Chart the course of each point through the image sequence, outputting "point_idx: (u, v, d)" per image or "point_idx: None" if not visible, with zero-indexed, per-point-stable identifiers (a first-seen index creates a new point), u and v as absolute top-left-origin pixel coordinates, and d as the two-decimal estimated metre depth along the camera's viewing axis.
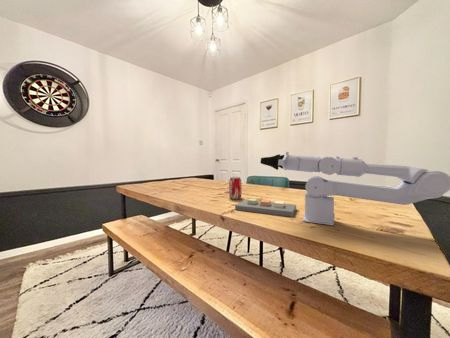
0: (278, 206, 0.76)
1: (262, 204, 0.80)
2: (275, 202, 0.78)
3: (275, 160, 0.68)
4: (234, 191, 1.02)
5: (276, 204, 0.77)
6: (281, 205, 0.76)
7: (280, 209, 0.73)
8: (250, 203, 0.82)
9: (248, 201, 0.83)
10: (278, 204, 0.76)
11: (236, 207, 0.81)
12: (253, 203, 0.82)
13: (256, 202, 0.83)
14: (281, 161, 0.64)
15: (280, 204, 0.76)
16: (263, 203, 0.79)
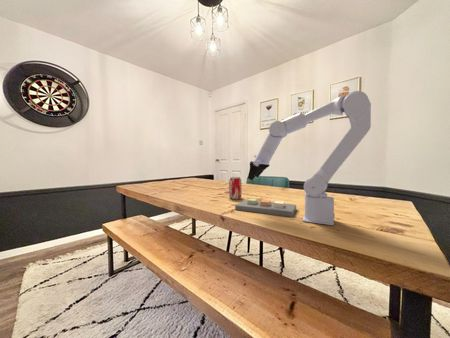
0: (278, 206, 0.76)
1: (262, 204, 0.80)
2: (275, 202, 0.78)
3: (254, 167, 0.75)
4: (234, 191, 1.02)
5: (276, 204, 0.77)
6: (281, 205, 0.76)
7: (280, 209, 0.73)
8: (250, 203, 0.82)
9: (248, 201, 0.83)
10: (278, 204, 0.76)
11: (236, 207, 0.81)
12: (253, 203, 0.82)
13: (256, 202, 0.83)
14: (255, 162, 0.72)
15: (280, 204, 0.76)
16: (263, 203, 0.79)
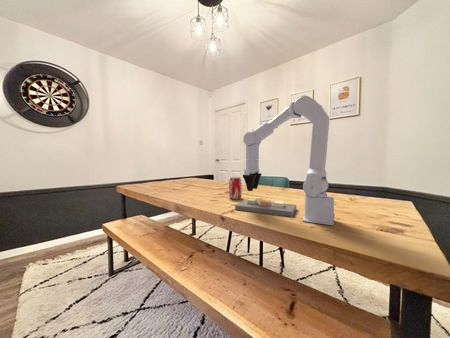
0: (278, 206, 0.76)
1: (262, 204, 0.80)
2: (275, 202, 0.78)
3: (248, 178, 0.80)
4: (234, 191, 1.02)
5: (276, 204, 0.77)
6: (281, 205, 0.76)
7: (280, 209, 0.73)
8: (250, 203, 0.82)
9: (248, 201, 0.83)
10: (278, 204, 0.76)
11: (236, 207, 0.81)
12: (253, 203, 0.82)
13: (256, 202, 0.83)
14: (245, 172, 0.77)
15: (280, 204, 0.76)
16: (263, 203, 0.79)
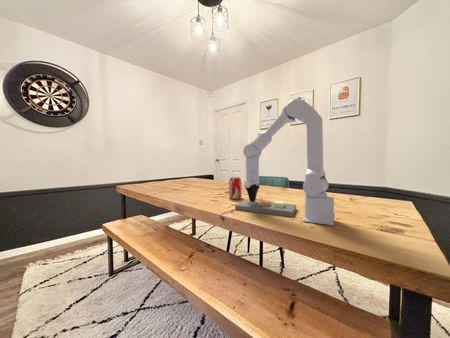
0: (278, 206, 0.76)
1: (262, 204, 0.80)
2: (275, 202, 0.78)
3: (250, 189, 0.83)
4: (234, 191, 1.02)
5: (276, 204, 0.77)
6: (281, 205, 0.76)
7: (280, 209, 0.73)
8: None
9: (248, 203, 0.83)
10: (278, 204, 0.76)
11: (236, 207, 0.81)
12: None
13: (256, 203, 0.83)
14: (245, 185, 0.77)
15: (280, 204, 0.76)
16: (263, 203, 0.79)
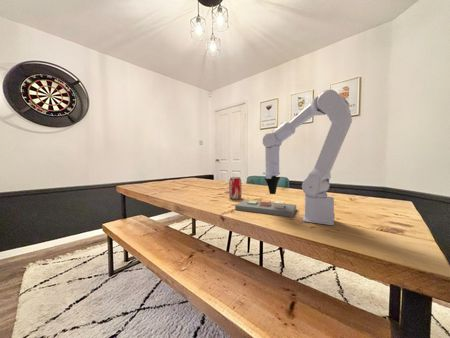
0: (278, 206, 0.76)
1: (262, 204, 0.80)
2: (275, 202, 0.78)
3: (270, 180, 0.78)
4: (234, 191, 1.02)
5: (276, 204, 0.77)
6: (281, 205, 0.76)
7: (280, 209, 0.73)
8: None
9: (248, 203, 0.83)
10: (278, 204, 0.76)
11: (236, 207, 0.81)
12: None
13: (256, 204, 0.83)
14: (267, 175, 0.72)
15: (280, 204, 0.76)
16: (263, 203, 0.79)
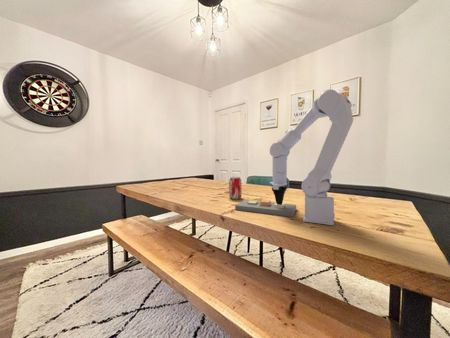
0: None
1: (262, 204, 0.80)
2: (275, 204, 0.78)
3: (277, 191, 0.77)
4: (234, 191, 1.02)
5: (276, 206, 0.77)
6: (281, 207, 0.76)
7: (280, 209, 0.73)
8: None
9: (248, 203, 0.83)
10: (278, 206, 0.76)
11: (236, 207, 0.81)
12: None
13: (256, 204, 0.83)
14: (274, 186, 0.71)
15: (280, 206, 0.76)
16: (263, 203, 0.79)
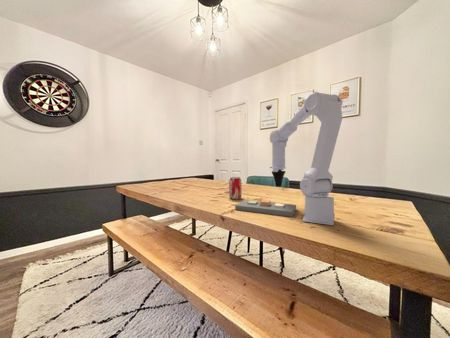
0: None
1: (262, 204, 0.80)
2: (275, 204, 0.78)
3: (277, 174, 0.85)
4: (234, 191, 1.02)
5: (276, 206, 0.77)
6: (281, 207, 0.76)
7: (280, 209, 0.73)
8: None
9: (248, 203, 0.83)
10: (278, 206, 0.76)
11: (236, 207, 0.81)
12: None
13: (256, 204, 0.83)
14: (274, 169, 0.79)
15: (280, 206, 0.76)
16: (263, 203, 0.79)
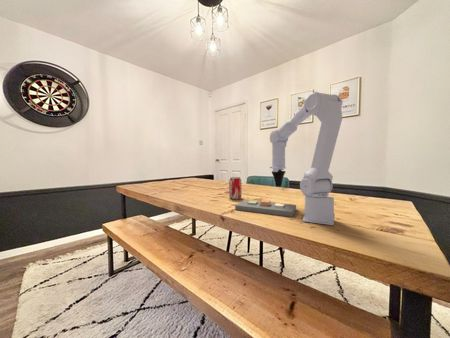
0: None
1: (262, 204, 0.80)
2: (275, 204, 0.78)
3: (277, 174, 0.85)
4: (234, 191, 1.02)
5: (276, 206, 0.77)
6: (281, 207, 0.76)
7: (280, 209, 0.73)
8: None
9: (248, 203, 0.83)
10: (278, 206, 0.76)
11: (236, 207, 0.81)
12: None
13: (256, 204, 0.83)
14: (274, 169, 0.79)
15: (280, 206, 0.76)
16: (263, 203, 0.79)
